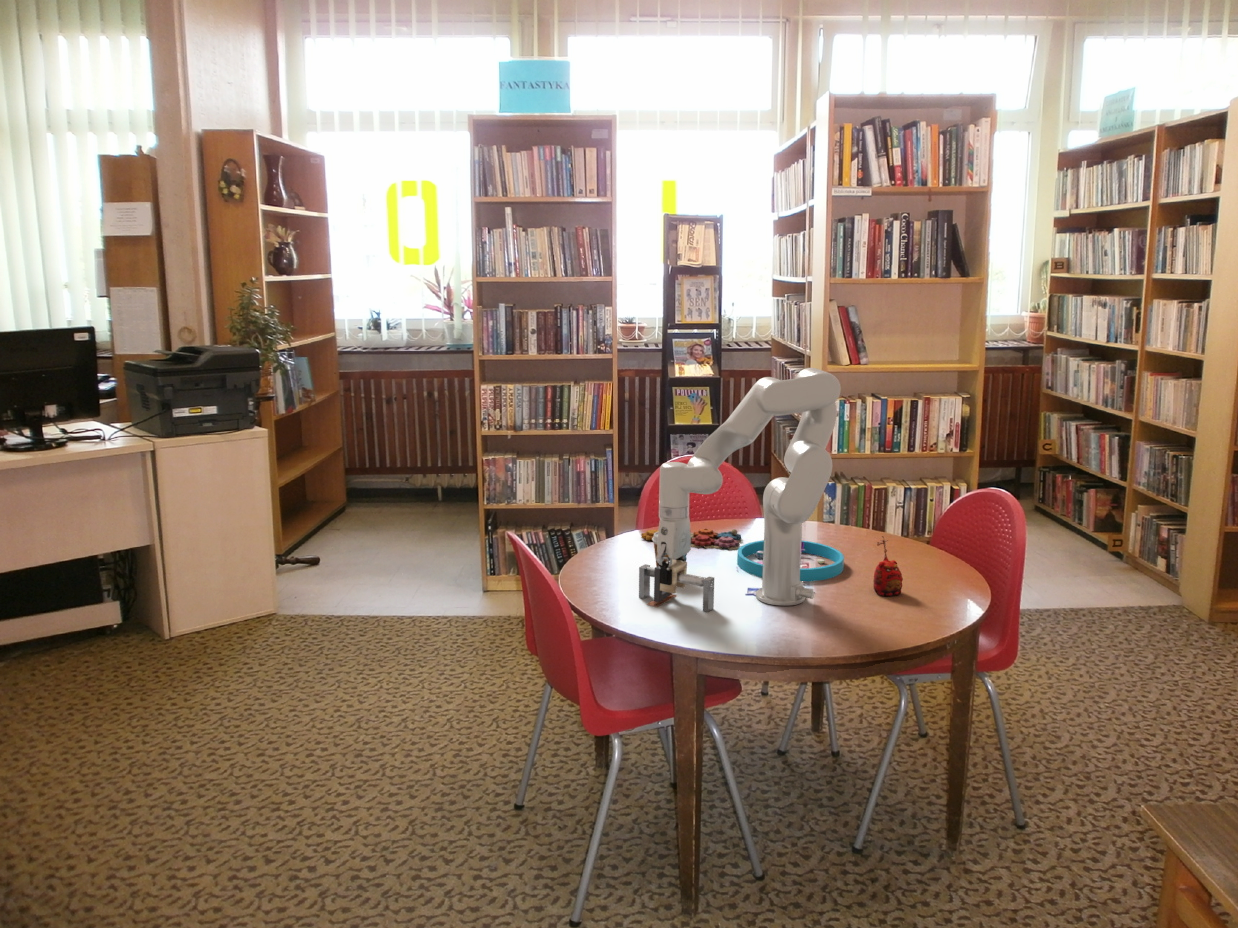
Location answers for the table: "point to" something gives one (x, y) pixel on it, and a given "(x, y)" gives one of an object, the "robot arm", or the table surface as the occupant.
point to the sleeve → (675, 576)
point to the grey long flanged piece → (706, 583)
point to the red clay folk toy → (887, 576)
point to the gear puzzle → (708, 539)
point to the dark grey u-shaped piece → (657, 593)
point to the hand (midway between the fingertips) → (672, 579)
